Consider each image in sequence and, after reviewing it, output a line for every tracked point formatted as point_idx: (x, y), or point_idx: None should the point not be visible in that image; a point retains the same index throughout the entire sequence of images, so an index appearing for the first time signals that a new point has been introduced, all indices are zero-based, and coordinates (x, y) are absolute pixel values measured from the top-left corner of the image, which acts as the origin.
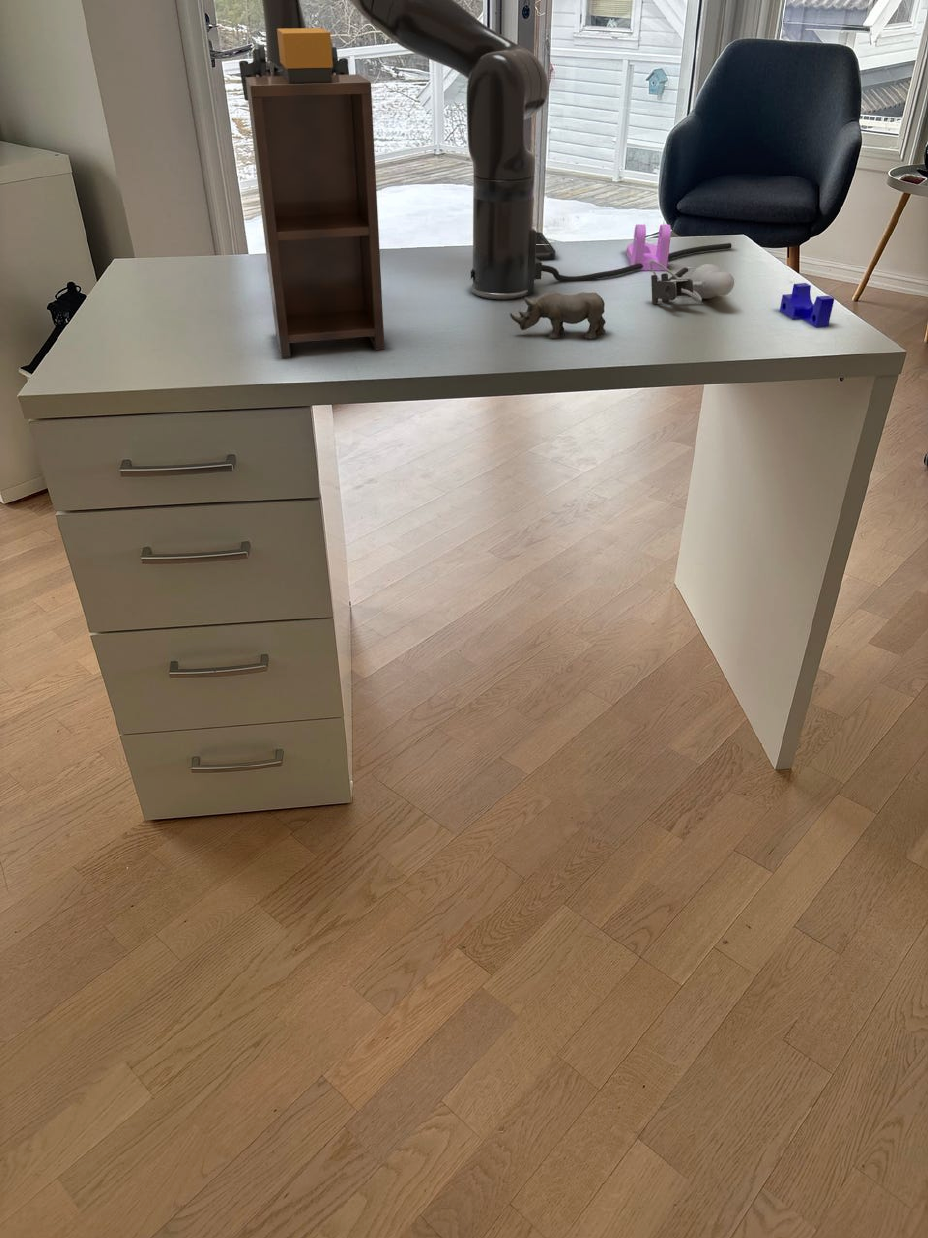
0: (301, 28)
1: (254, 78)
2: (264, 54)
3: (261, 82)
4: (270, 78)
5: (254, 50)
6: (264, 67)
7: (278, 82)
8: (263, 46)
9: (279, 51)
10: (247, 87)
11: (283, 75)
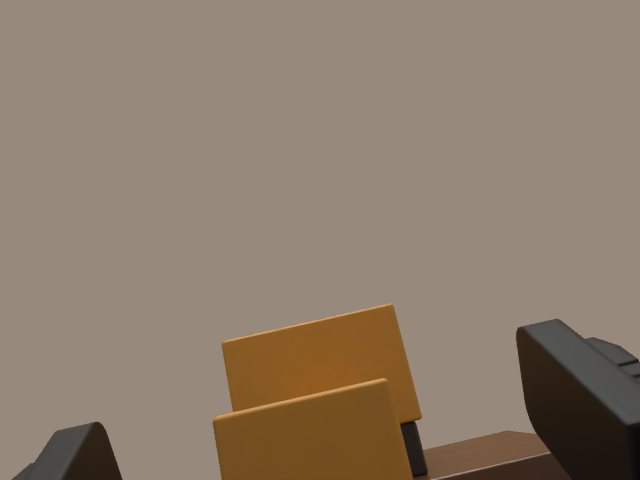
0: (302, 325)
1: (542, 446)
2: (526, 385)
3: (489, 442)
4: (477, 459)
5: (599, 347)
6: (577, 469)
7: (437, 452)
8: (521, 340)
9: (410, 378)
10: None
11: (426, 466)
